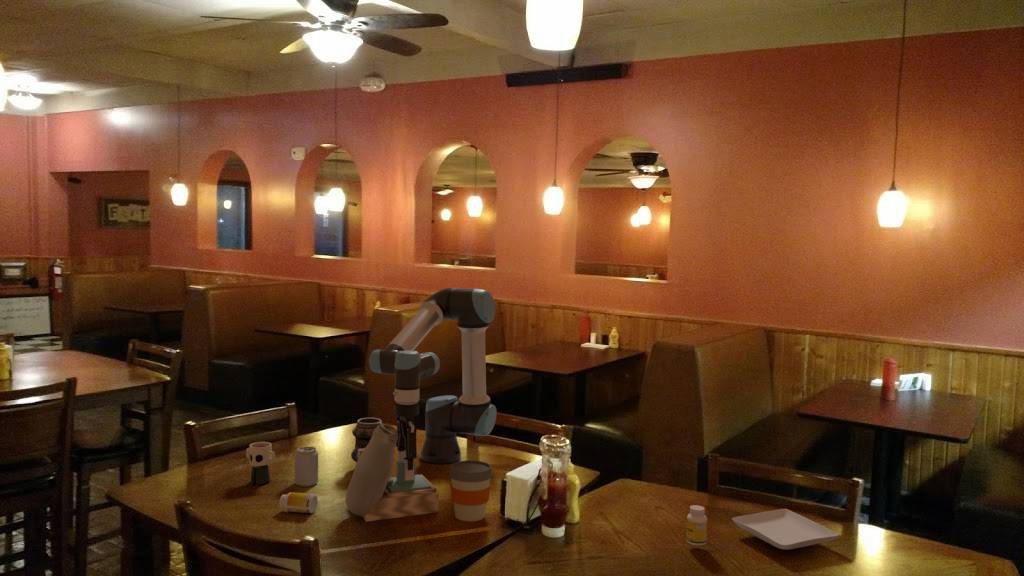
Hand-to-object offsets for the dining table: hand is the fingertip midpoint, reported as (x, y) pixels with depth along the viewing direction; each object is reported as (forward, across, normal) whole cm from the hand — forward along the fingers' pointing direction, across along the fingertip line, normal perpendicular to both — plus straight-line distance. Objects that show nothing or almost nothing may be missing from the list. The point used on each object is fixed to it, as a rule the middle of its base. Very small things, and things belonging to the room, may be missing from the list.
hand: (405, 475), depth 227 cm
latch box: (+10, 0, -3) cm, 10 cm away
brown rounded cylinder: (+8, +3, -16) cm, 18 cm away
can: (+10, -31, -25) cm, 41 cm away
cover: (+4, 0, 0) cm, 4 cm away
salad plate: (+10, +59, +95) cm, 112 cm away
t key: (+4, 0, -10) cm, 11 cm away
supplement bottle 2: (+10, +54, +68) cm, 87 cm away
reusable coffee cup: (+10, +14, +16) cm, 23 cm away
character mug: (+10, -37, -39) cm, 55 cm away
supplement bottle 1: (+7, -4, -26) cm, 28 cm away
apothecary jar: (+10, -39, -2) cm, 40 cm away
